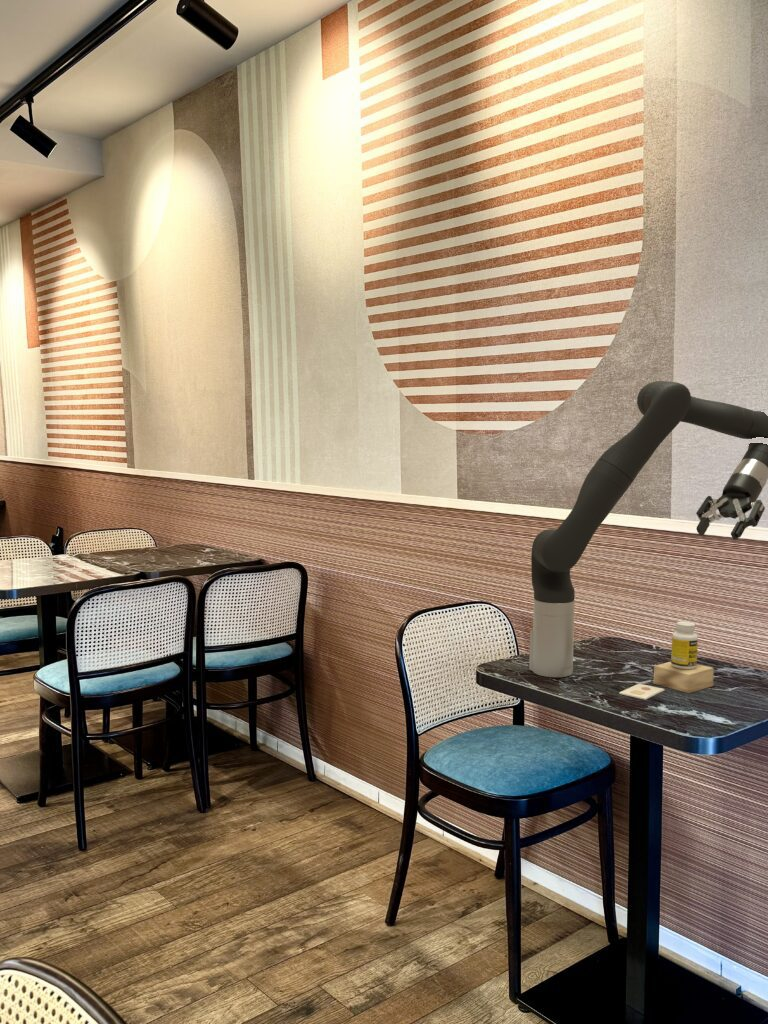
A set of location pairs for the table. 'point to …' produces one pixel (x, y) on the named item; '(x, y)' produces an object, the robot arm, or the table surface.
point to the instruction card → (641, 691)
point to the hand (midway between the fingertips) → (716, 535)
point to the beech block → (683, 677)
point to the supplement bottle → (684, 646)
